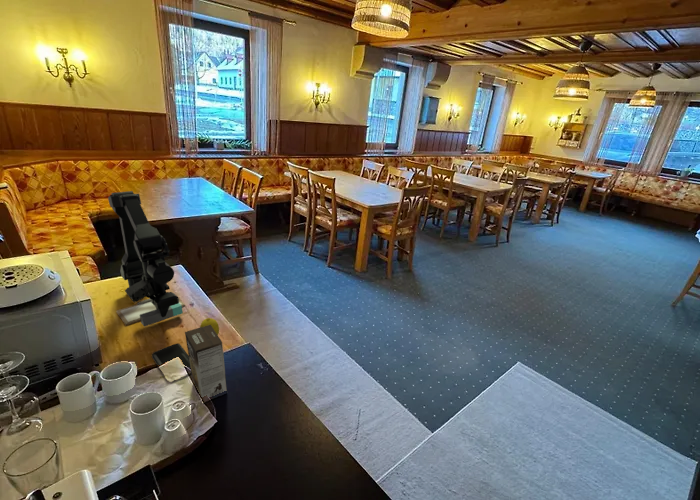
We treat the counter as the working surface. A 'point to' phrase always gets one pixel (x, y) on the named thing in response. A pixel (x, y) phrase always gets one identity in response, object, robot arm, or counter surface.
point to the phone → (171, 355)
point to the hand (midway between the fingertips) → (162, 314)
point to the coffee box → (206, 360)
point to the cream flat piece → (137, 311)
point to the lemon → (211, 322)
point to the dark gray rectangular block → (156, 316)
